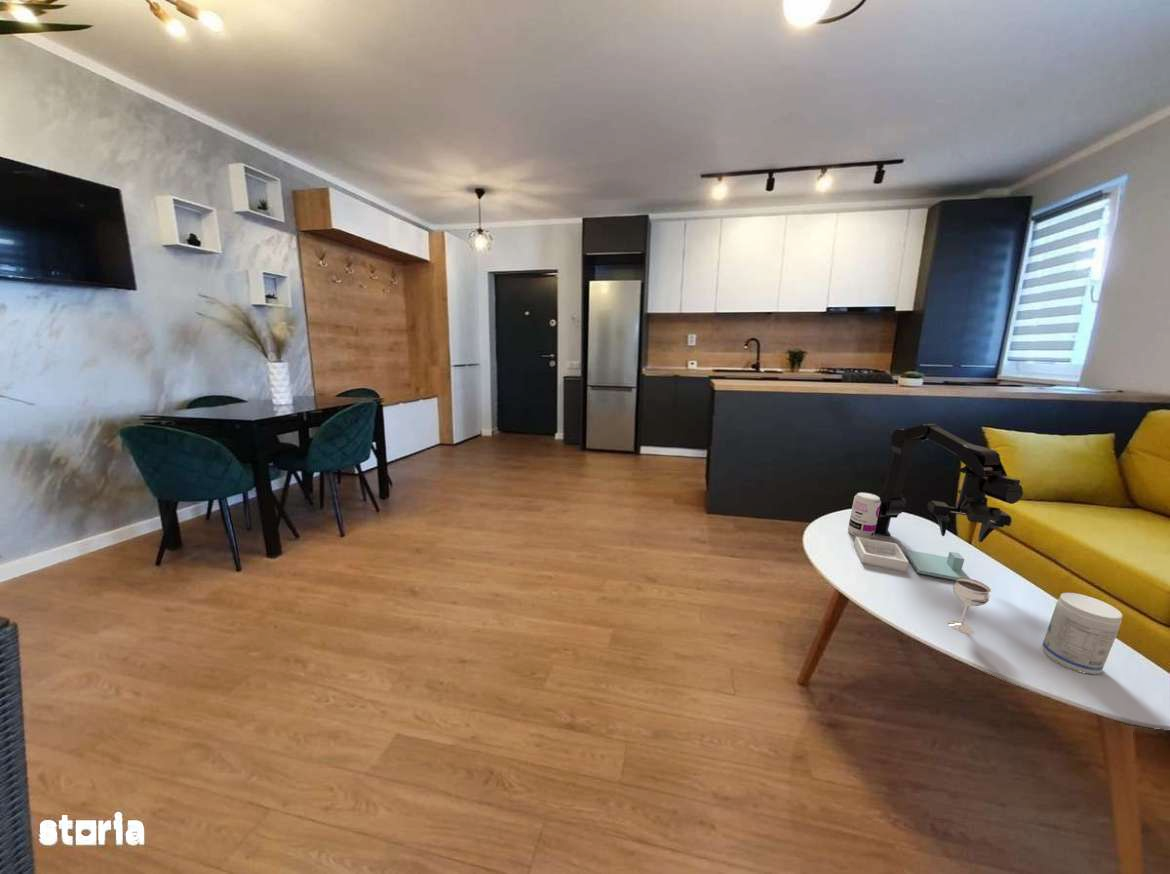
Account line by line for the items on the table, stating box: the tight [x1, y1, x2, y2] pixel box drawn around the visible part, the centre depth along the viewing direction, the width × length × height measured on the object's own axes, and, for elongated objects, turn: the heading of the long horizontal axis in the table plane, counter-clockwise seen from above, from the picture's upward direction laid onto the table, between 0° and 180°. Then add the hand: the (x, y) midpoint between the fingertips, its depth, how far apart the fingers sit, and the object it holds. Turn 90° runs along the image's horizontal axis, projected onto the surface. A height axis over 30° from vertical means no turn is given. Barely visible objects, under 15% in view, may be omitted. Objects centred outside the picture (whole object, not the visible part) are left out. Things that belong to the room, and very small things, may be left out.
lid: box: [904, 549, 971, 581], centre depth 137 cm, size 14×13×6 cm
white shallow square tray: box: [853, 536, 910, 573], centre depth 142 cm, size 13×12×4 cm
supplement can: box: [847, 491, 881, 539], centre depth 158 cm, size 8×8×15 cm
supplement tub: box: [1041, 592, 1124, 675], centre depth 98 cm, size 10×10×15 cm
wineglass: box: [948, 577, 992, 635], centre depth 108 cm, size 7×7×12 cm
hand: (961, 538), depth 133 cm, fingers open, 9 cm apart
